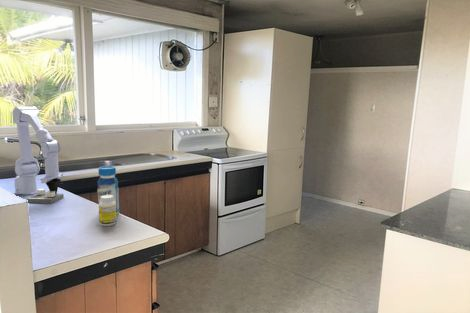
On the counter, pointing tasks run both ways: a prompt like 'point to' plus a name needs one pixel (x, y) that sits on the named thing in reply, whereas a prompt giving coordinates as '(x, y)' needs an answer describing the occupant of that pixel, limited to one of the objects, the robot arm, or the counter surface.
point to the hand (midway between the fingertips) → (53, 194)
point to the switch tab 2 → (50, 194)
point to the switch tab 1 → (40, 191)
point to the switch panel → (44, 198)
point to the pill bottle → (107, 210)
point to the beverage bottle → (108, 184)
